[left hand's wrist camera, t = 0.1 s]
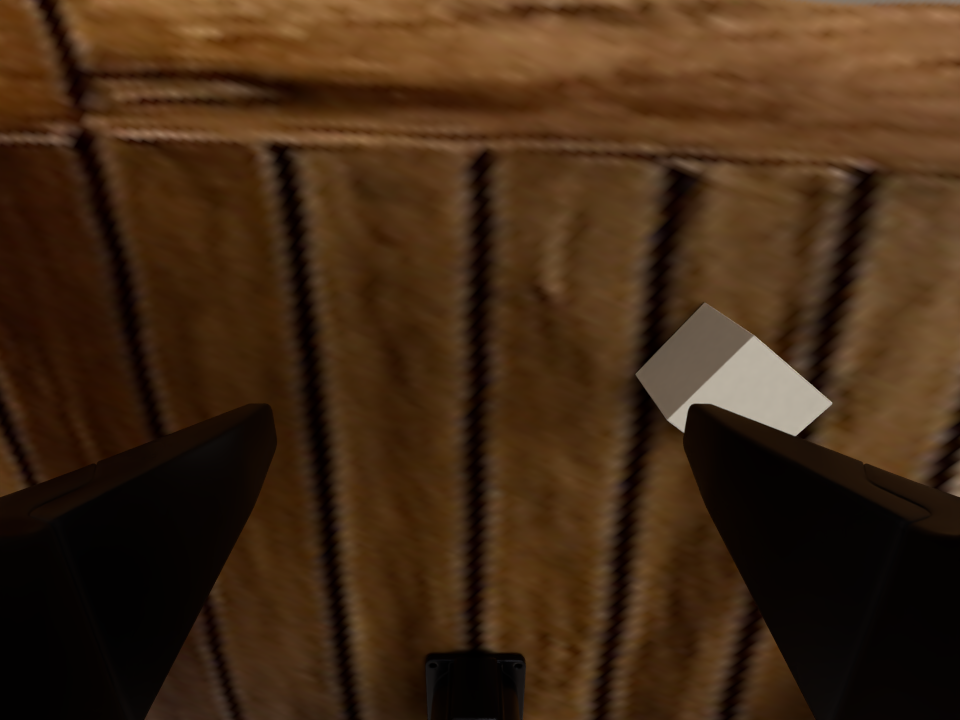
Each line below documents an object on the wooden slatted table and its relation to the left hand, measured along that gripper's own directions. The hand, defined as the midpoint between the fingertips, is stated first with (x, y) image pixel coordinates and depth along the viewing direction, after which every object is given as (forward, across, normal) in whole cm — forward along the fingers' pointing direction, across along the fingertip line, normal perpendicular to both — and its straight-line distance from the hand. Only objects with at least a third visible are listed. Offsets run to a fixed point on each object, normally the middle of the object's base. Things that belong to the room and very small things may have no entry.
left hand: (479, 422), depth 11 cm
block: (+15, -11, +5) cm, 19 cm away
